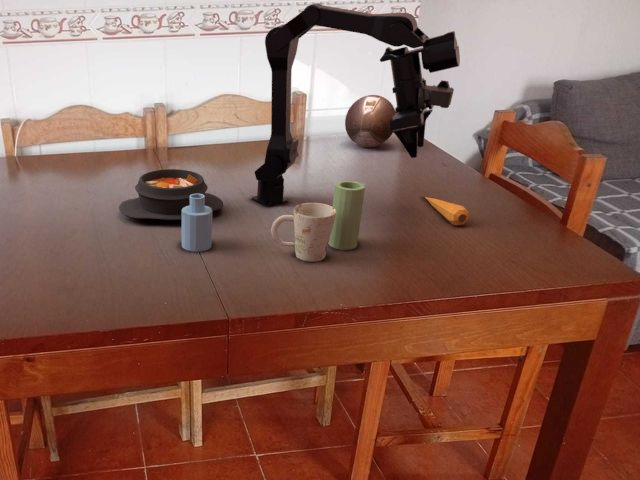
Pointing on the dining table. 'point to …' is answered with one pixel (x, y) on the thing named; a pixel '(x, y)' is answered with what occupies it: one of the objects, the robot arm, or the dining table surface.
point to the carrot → (450, 211)
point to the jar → (347, 214)
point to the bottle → (197, 225)
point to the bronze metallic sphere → (369, 121)
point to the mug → (309, 230)
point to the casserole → (167, 195)
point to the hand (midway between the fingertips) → (417, 151)
